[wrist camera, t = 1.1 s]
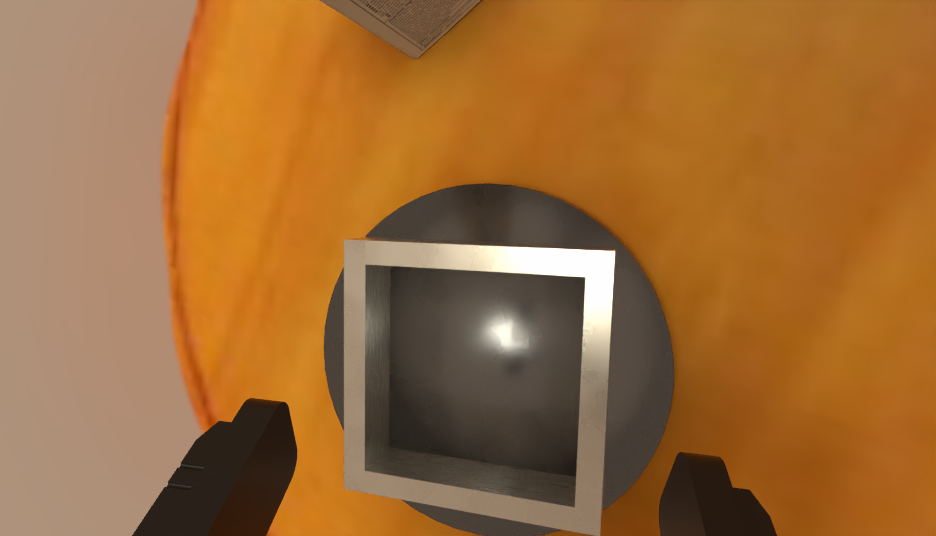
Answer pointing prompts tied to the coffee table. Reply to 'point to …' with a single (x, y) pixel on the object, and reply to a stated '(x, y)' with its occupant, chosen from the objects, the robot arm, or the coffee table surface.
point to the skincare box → (405, 20)
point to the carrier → (497, 362)
